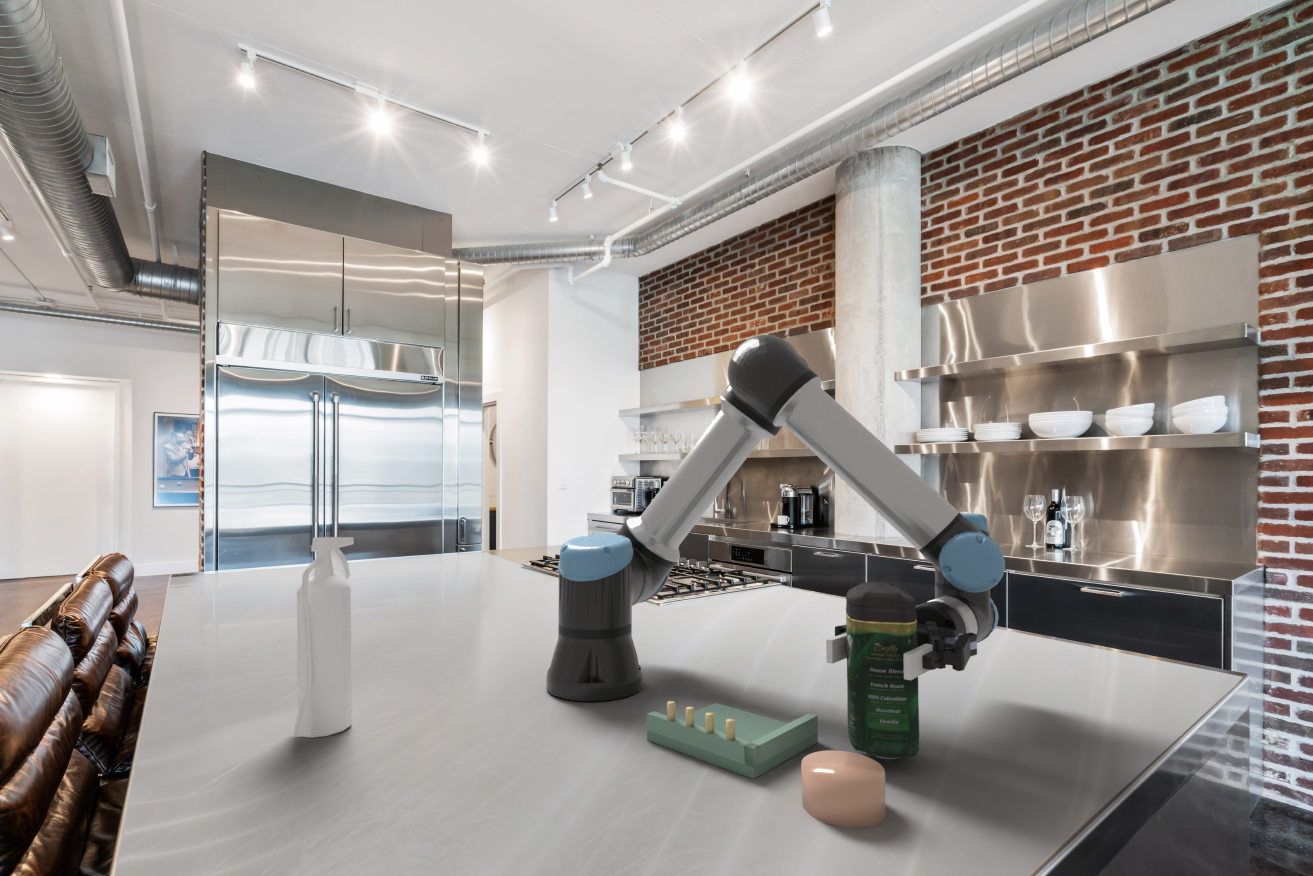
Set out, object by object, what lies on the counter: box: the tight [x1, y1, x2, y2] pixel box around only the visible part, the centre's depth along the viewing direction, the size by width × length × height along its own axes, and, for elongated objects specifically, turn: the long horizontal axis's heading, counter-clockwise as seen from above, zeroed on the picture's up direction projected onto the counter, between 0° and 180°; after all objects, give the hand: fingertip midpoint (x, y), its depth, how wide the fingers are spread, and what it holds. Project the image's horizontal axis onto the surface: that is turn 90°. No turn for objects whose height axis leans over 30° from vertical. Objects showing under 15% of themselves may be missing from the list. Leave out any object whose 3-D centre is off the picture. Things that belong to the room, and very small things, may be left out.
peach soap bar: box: [800, 750, 887, 829], centre depth 65 cm, size 8×8×4 cm
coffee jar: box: [844, 581, 920, 760], centre depth 77 cm, size 10×8×19 cm
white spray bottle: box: [290, 536, 355, 739], centre depth 85 cm, size 7×12×25 cm, turn 176°
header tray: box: [646, 700, 819, 779], centre depth 82 cm, size 16×14×5 cm
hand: (866, 658), depth 74 cm, fingers closed on coffee jar, 9 cm apart
